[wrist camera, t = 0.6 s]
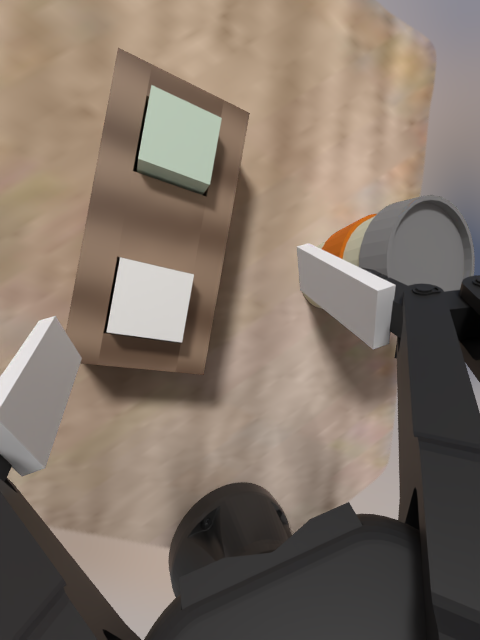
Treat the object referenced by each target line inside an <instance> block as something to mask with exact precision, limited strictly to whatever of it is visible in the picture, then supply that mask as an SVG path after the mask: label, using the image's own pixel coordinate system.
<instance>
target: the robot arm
mask: <svg viewBox="0 0 480 640" xmlns="http://www.w3.org/2000/svg"><path fill="white" fill-rule="evenodd" d="M297 256H298V268H299V281H300V290H301V291H302V292H303V293H304V294H306V295H307V296H308V297H309V298H311V299H312V300H313V301H314V302H316V303H317V304H318V305H319V306H320V307H322V308H323V309H324V310H325V311H327V312H328V313H329V314H330V315H331V316H333V317H334V318H335V319H336V320H338V321H339V322H340V323H341V324H342V325H344V326H345V327H346V328H347V329H349V330H350V331H351V332H352V333H354V334H355V335H356V336H357V337H358V338H360V339H361V340H362V341H363V342H365V343H366V344H367V345H368V346H369V347H371V348H372V349H376V348H379V347H381V346H384V345H387V344H389V339H390V332H392V333H393V334H395V335H396V336H398V337H397V345H396V352H395V358H397V385H398V430H399V431H398V432H399V475H400V477H399V478H400V504H399V518H398V520H395V519H392V518H389V517H385V516H380V515H374V514H355V512H354V510H353V509H352V507H351V505H350V503H349V502H348V503H346V504H344V505H341V506H339V507H337V508H335V509H332V510H330V511H328V512H326V513H323V514H321V515H319V516H317V517H314V518H312V519H310V520H309V521H308V522H307V523H306V524H304V525H303V526H302V527H301V528H300V529H299V530H298V531H296V532H295V533H294V534H293V535H292V534H291V531H290V528H289V525H288V521H287V518H286V516H285V514H284V512H283V510H282V508H281V507H280V505H279V504H278V503H277V501H276V500H275V499H274V498H273V496H272V495H271V494H270V493H269V492H268V491H267V490H265V489H264V488H262V487H260V486H258V485H255V484H252V483H233V484H229V485H226V486H223V487H220V488H218V489H216V490H214V491H212V492H210V493H209V494H207V495H206V496H204V497H203V498H202V499H201V500H199V501H198V502H197V503H196V504H195V505H194V506H193V507H192V508H191V509H190V510H189V512H188V513H187V514H186V515H185V517H184V518H183V520H182V521H181V523H180V524H179V526H178V528H177V530H176V532H175V534H174V537H173V540H172V543H171V547H170V552H169V571H170V576H171V582H172V588H173V591H174V594H175V596H176V599H174V600H173V602H172V603H171V604H170V605H169V606H168V607H167V608H166V609H165V610H164V611H163V613H162V614H161V615H160V617H159V618H158V619H157V621H156V622H155V623H154V625H153V626H152V628H151V629H150V631H149V633H148V634H147V636H146V637H145V639H144V640H480V413H479V410H478V406H477V403H476V399H475V395H474V393H473V389H472V385H471V382H470V378H469V375H468V371H467V368H466V365H465V363H466V364H467V365H468V367H469V368H470V370H471V371H472V372H473V374H474V375H475V376H476V378H477V379H478V381H479V382H480V276H470V277H467V278H464V279H463V281H462V284H461V288H460V290H453V291H445V292H444V291H443V289H442V288H440V287H438V286H435V285H431V284H423V283H421V284H413V285H409V286H408V285H405V284H403V283H401V282H399V281H397V280H395V279H392V278H390V277H389V278H388V276H386V275H384V274H382V273H379V272H377V271H375V270H372V269H367V268H359V267H357V266H355V265H353V264H351V263H349V262H347V261H345V260H343V259H341V258H339V257H337V256H335V255H332V254H330V253H328V252H326V251H324V250H322V249H320V248H318V247H316V246H314V245H312V244H310V243H308V244H304V245H301V246H297ZM81 359H82V358H81V356H80V354H79V353H78V351H77V350H76V348H75V346H74V345H73V343H72V342H71V340H70V338H69V337H68V335H67V334H66V332H65V330H64V329H63V327H62V326H61V324H60V322H59V321H58V319H57V318H56V316H53V317H50V318H46V319H43V320H39V322H38V323H37V325H36V326H35V327H34V329H33V330H32V332H31V333H30V335H29V336H28V338H27V339H26V341H25V342H24V343H23V345H22V346H21V348H20V349H19V351H18V352H17V354H16V355H15V356H14V358H13V359H12V361H11V362H10V364H9V365H8V367H7V368H6V370H5V371H4V372H3V374H2V375H1V377H0V640H141V639H140V638H139V637H138V636H137V635H136V634H135V633H134V632H133V631H132V630H131V629H130V628H129V627H128V626H127V625H126V624H125V623H124V621H123V620H122V619H121V618H120V617H119V615H118V614H117V613H116V612H115V610H114V609H113V608H112V607H111V605H110V604H109V603H108V602H107V600H106V599H105V598H104V597H103V595H102V594H101V593H100V592H99V590H98V589H97V588H96V587H95V585H94V584H93V583H92V582H91V580H90V579H89V578H88V577H87V575H86V574H85V573H84V572H83V570H82V569H81V568H80V567H79V565H78V564H77V563H76V562H75V560H74V559H73V558H72V557H71V555H70V554H69V553H68V552H67V550H66V549H65V548H64V547H63V545H62V544H61V543H60V542H59V540H58V539H57V538H56V536H55V535H54V534H53V533H52V531H51V530H50V529H49V528H48V526H47V525H46V524H45V523H44V521H43V520H42V519H41V518H40V516H39V515H38V514H37V513H36V511H35V510H34V509H33V508H32V506H31V505H30V504H29V503H28V501H27V500H26V499H25V498H24V496H23V495H22V494H21V493H20V491H19V490H18V489H17V488H16V486H15V485H14V484H13V483H12V482H11V481H10V480H9V479H8V478H7V476H8V473H9V471H10V469H11V467H12V468H14V469H15V470H16V471H17V472H18V473H19V474H20V475H21V476H24V475H27V474H30V473H33V472H35V471H38V470H41V469H44V468H45V467H46V464H47V461H48V458H49V455H50V452H51V449H52V446H53V443H54V440H55V437H56V434H57V431H58V428H59V425H60V422H61V419H62V416H63V413H64V410H65V407H66V404H67V401H68V398H69V395H70V392H71V389H72V386H73V383H74V380H75V377H76V374H77V371H78V368H79V365H80V362H81Z"/></svg>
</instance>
